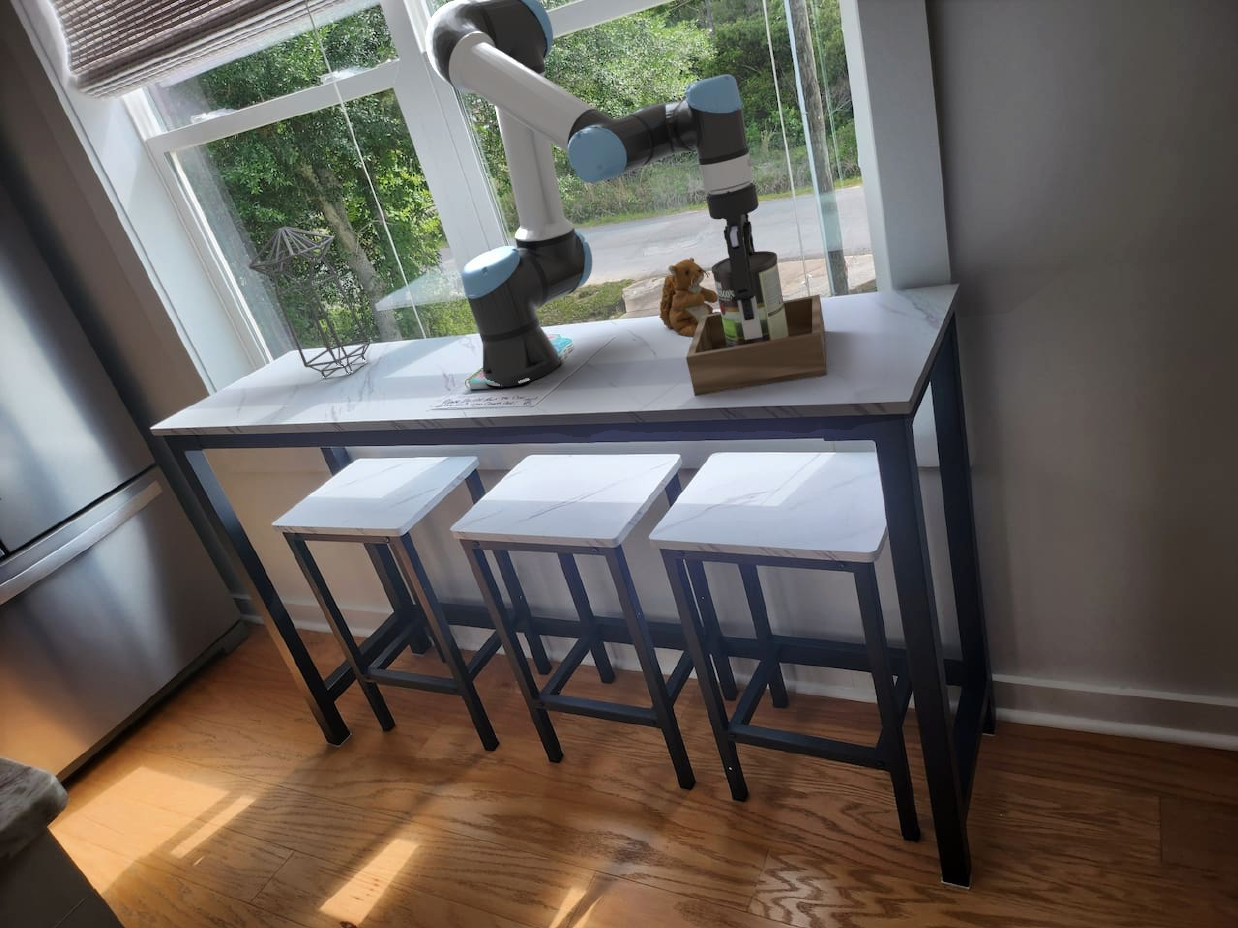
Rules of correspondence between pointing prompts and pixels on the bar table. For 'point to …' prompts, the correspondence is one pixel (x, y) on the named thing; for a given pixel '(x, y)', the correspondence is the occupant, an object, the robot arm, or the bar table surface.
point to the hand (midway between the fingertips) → (755, 326)
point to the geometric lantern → (294, 235)
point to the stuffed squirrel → (685, 297)
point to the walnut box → (759, 352)
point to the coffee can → (766, 299)
